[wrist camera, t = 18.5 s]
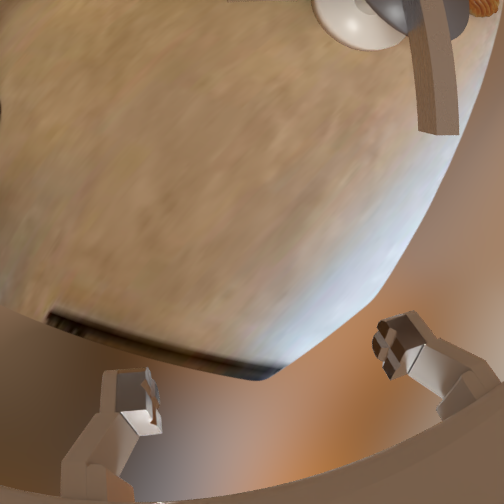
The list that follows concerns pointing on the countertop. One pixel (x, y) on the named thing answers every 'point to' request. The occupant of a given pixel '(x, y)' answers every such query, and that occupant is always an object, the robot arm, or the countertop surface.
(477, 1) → the pastry
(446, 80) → the wooden bar
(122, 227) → the countertop surface
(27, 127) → the countertop surface
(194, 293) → the countertop surface
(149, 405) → the robot arm
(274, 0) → the wooden stand
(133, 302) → the countertop surface
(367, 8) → the dial scale
